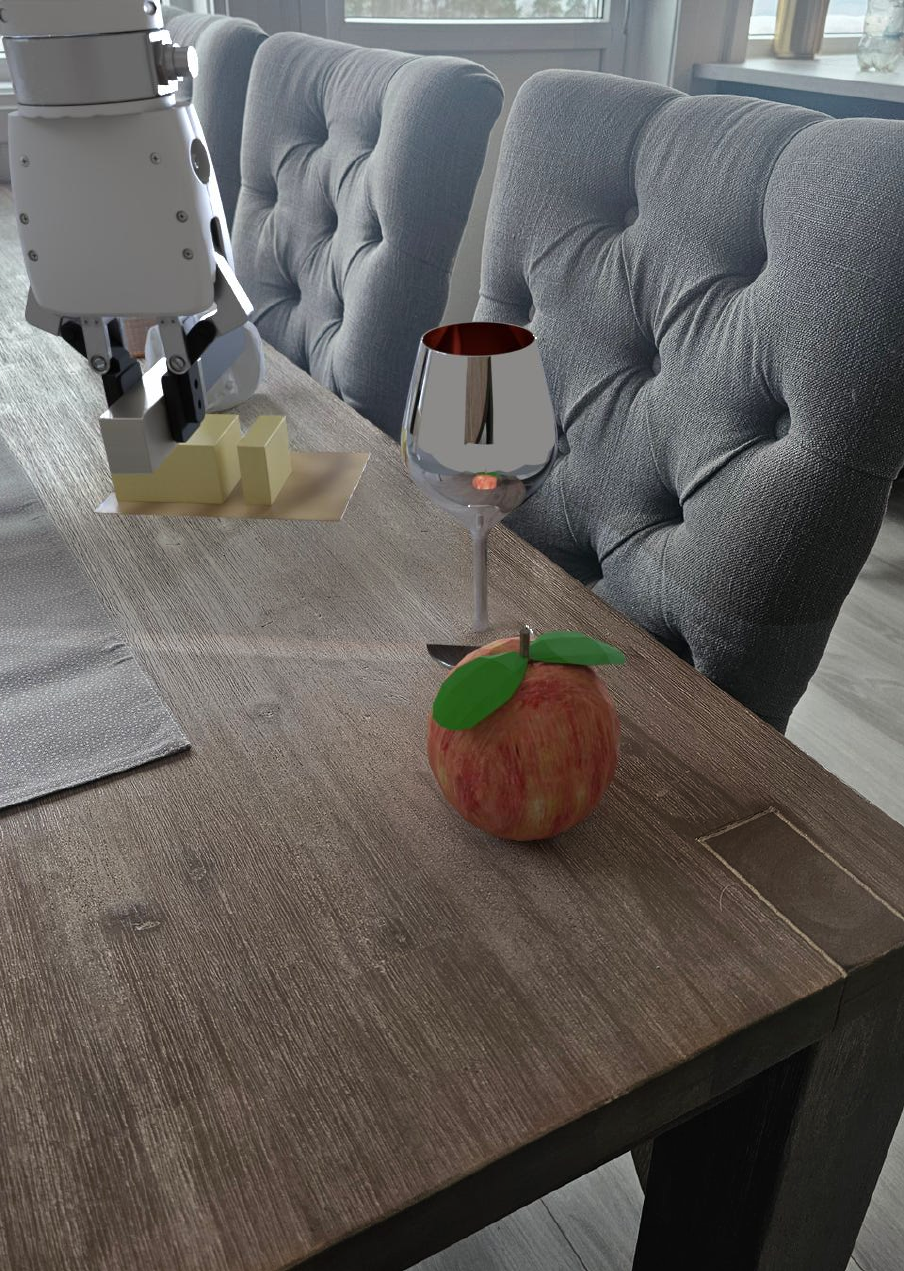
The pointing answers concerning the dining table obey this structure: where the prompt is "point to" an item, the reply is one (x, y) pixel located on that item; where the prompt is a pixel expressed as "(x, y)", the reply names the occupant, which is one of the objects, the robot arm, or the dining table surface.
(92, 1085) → the dining table surface
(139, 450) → the knife
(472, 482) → the wineglass
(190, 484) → the butter block
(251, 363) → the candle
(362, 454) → the board
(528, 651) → the fruit
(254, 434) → the butter slice
